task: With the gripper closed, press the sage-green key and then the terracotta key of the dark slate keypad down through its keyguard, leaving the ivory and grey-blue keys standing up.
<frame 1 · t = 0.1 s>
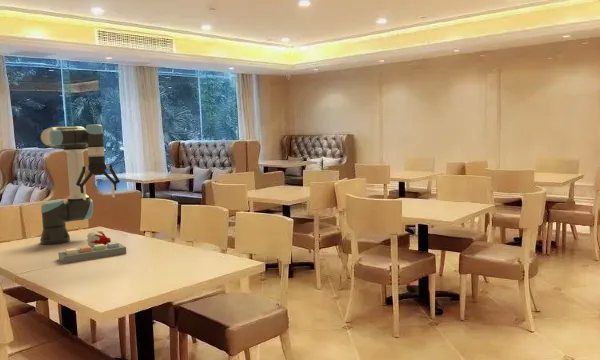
hand: (99, 198, 252), 28 cm above the table, fingers open, 13 cm apart
key greyblue: (113, 245, 255), point 4 cm above the table, slide at 0.0 cm
key sage: (99, 247, 251), point 4 cm above the table, slide at 0.0 cm
candle: (98, 247, 269), on the table
keypad: (93, 256, 250), on the table
key ivory: (71, 252, 244), point 4 cm above the table, slide at 0.0 cm
key terracotta: (85, 249, 247), point 4 cm above the table, slide at 0.0 cm
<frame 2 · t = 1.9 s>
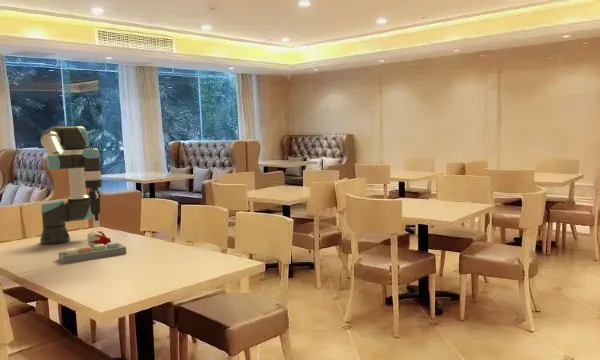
hand: (96, 227, 252), 14 cm above the table, fingers closed
nothing on the table moved.
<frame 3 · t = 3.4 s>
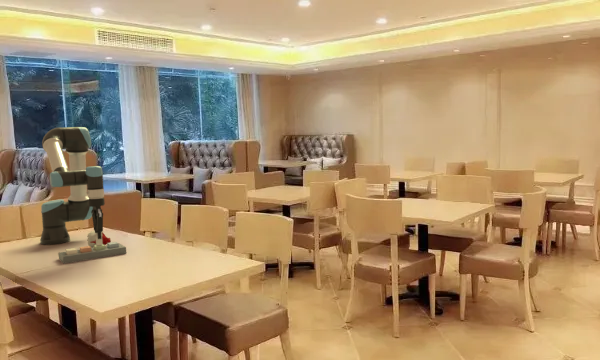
hand: (99, 245, 251), 5 cm above the table, fingers closed
key sage: (99, 248, 251), point 4 cm above the table, slide at 0.2 cm, touching gripper
everything else where it was.
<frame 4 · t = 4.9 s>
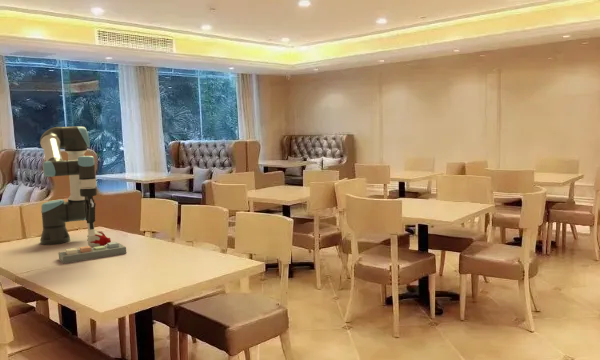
hand: (91, 235, 249), 10 cm above the table, fingers closed
key sage: (99, 249, 251), point 3 cm above the table, slide at 1.0 cm
everything else where it was.
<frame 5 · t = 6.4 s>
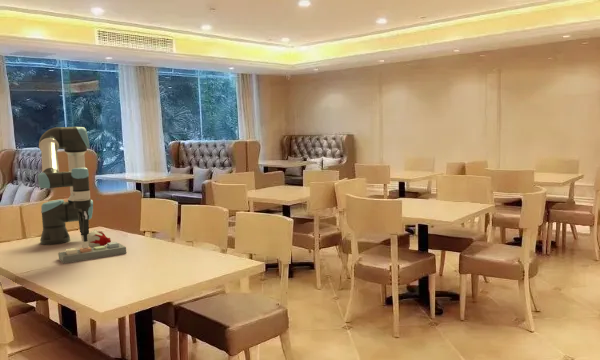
hand: (85, 247, 247), 5 cm above the table, fingers closed
key terracotta: (85, 250, 247), point 3 cm above the table, slide at 0.5 cm, touching gripper
everything else where it was.
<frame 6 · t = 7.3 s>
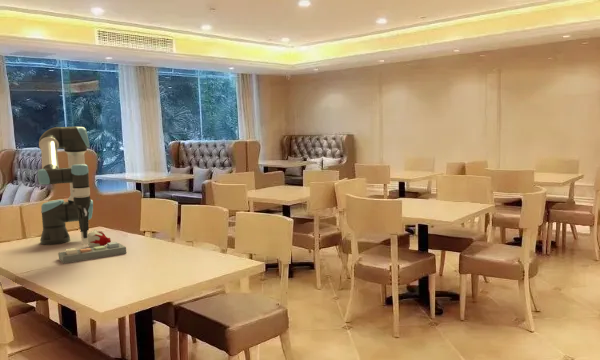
hand: (85, 244, 247), 6 cm above the table, fingers closed
key terracotta: (85, 251, 247), point 3 cm above the table, slide at 1.0 cm
everything else where it was.
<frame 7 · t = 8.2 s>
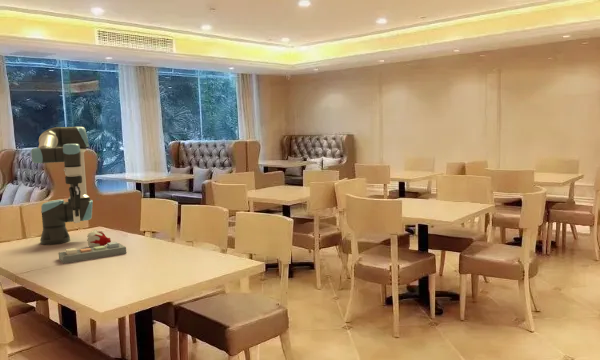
hand: (77, 222, 251), 16 cm above the table, fingers closed
nothing on the table moved.
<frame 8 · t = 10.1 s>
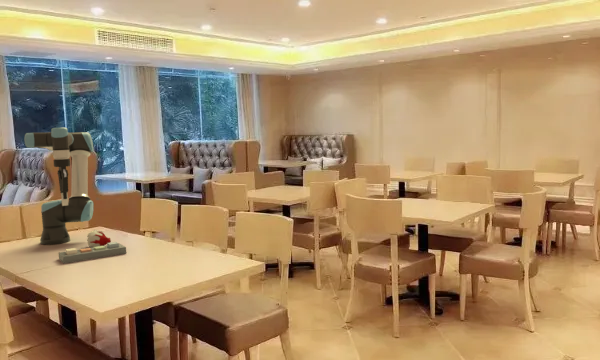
hand: (65, 205, 256), 24 cm above the table, fingers closed
nothing on the table moved.
at the end: key sage slide at 1.0 cm; key terracotta slide at 1.0 cm; key ivory slide at 0.0 cm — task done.
